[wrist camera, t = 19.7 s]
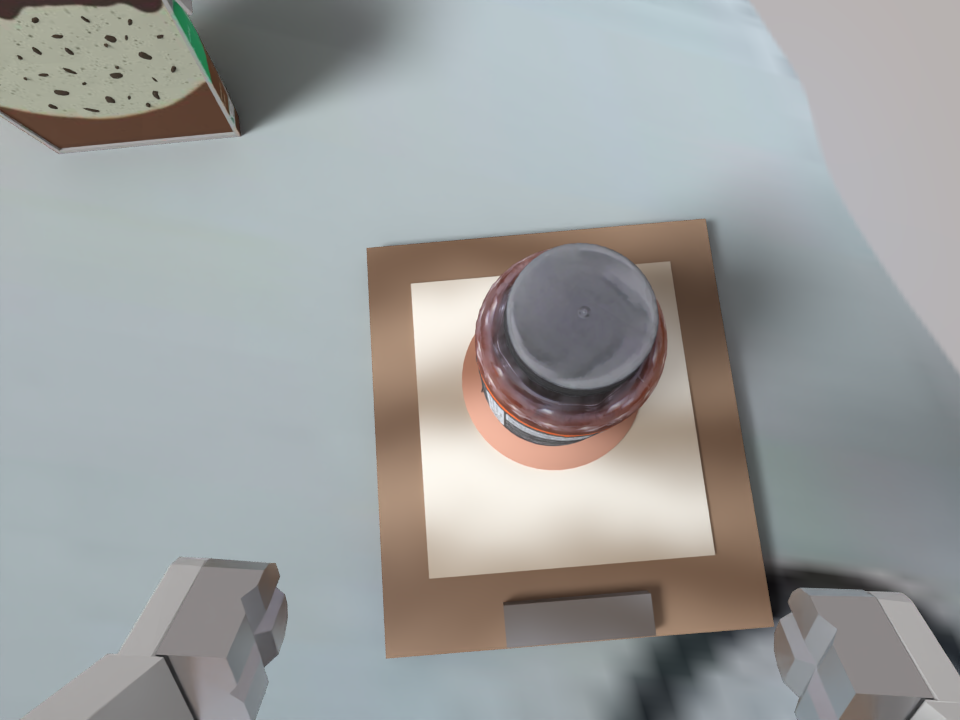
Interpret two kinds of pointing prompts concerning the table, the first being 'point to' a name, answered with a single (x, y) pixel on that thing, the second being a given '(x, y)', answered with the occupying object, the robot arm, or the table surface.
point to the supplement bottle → (569, 343)
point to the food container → (109, 74)
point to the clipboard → (555, 467)
